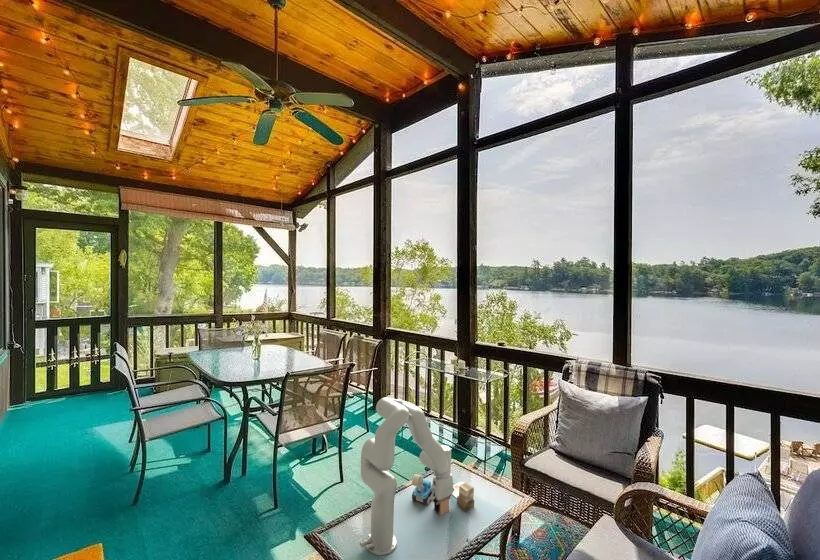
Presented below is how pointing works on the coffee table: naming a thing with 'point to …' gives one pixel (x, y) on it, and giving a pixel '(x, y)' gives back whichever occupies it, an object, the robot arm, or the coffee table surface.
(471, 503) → the walnut base block
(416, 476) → the toy excavator
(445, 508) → the terracotta block
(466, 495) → the maple block
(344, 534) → the coffee table surface
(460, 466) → the coffee table surface
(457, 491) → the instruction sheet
